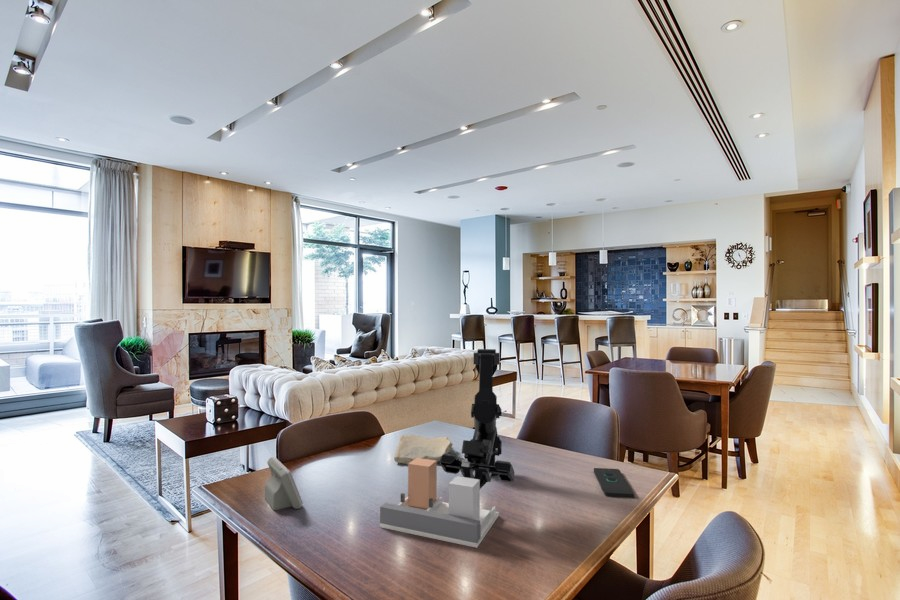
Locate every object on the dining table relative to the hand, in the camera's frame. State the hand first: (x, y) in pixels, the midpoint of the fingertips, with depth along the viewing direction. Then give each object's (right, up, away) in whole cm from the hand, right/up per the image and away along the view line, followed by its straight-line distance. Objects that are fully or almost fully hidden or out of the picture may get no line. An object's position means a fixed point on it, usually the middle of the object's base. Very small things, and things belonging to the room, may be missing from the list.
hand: (468, 500), depth 116 cm
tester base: (-7, -7, +3) cm, 10 cm away
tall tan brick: (-12, -5, +11) cm, 17 cm away
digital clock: (-50, -7, +15) cm, 53 cm away
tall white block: (-1, -5, -3) cm, 6 cm away
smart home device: (+45, -8, +28) cm, 53 cm away
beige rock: (-14, -7, +56) cm, 58 cm away
